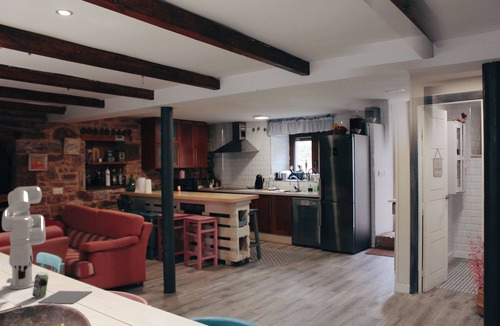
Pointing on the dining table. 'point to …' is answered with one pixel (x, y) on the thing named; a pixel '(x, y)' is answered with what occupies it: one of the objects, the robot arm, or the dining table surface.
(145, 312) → the dining table surface
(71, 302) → the rubber mat
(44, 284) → the beverage can
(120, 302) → the dining table surface
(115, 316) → the dining table surface
